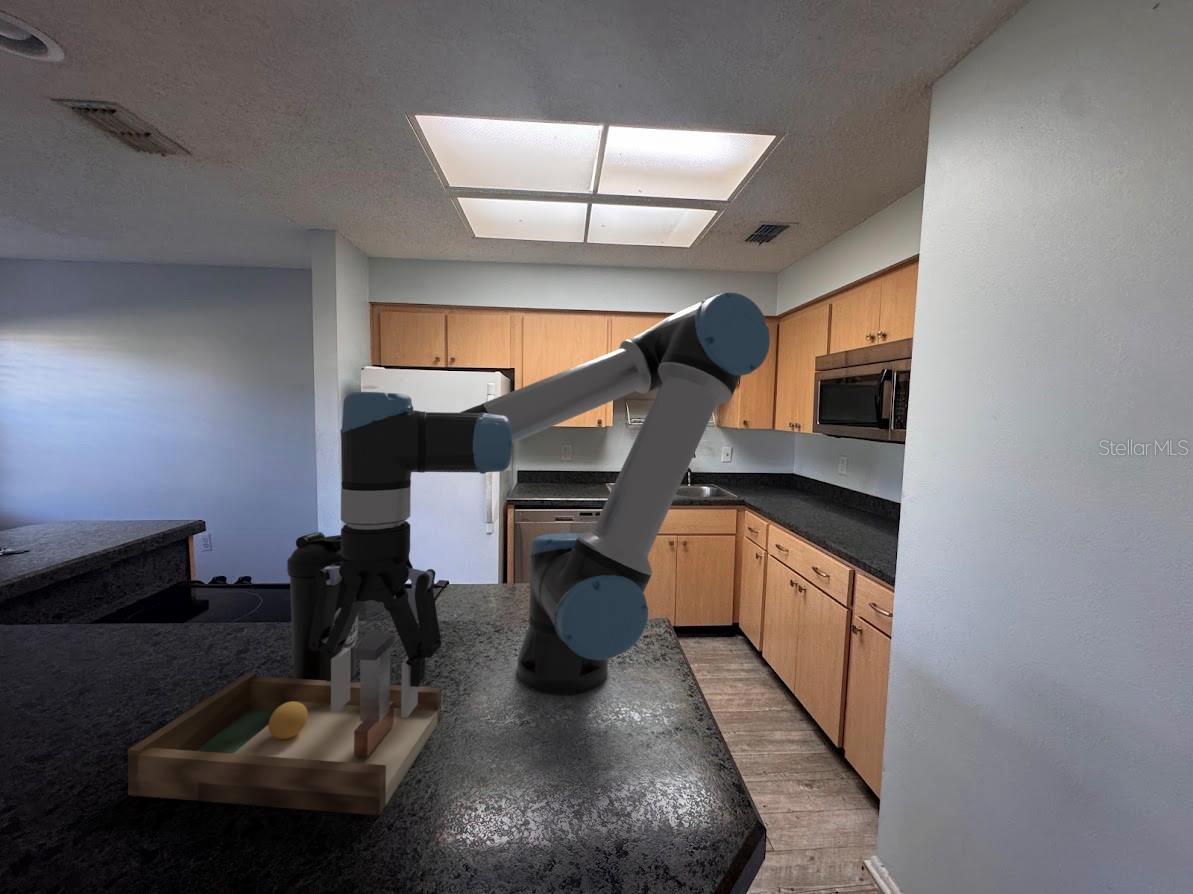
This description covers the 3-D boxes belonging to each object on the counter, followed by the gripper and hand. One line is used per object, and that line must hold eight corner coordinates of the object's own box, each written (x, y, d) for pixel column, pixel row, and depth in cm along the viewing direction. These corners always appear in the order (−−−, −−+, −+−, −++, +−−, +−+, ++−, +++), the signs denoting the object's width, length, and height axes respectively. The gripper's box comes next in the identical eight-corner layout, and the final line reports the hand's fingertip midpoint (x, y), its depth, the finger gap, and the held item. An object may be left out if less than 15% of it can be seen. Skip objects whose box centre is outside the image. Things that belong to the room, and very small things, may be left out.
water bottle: (328, 702, 68) (329, 545, 67) (270, 692, 70) (270, 540, 69) (375, 667, 78) (376, 531, 77) (322, 659, 80) (323, 526, 79)
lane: (440, 719, 64) (441, 684, 64) (379, 815, 48) (379, 768, 48) (248, 706, 66) (248, 672, 66) (128, 795, 50) (127, 749, 50)
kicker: (396, 724, 59) (397, 631, 59) (370, 757, 53) (371, 653, 53) (378, 723, 60) (379, 630, 59) (350, 756, 54) (351, 652, 53)
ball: (314, 726, 59) (314, 695, 59) (292, 748, 55) (292, 715, 55) (284, 724, 59) (284, 693, 59) (260, 745, 55) (260, 712, 55)
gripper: (472, 519, 59) (469, 695, 59) (314, 513, 60) (313, 685, 61) (449, 532, 51) (446, 734, 52) (269, 525, 52) (269, 721, 53)
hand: (375, 707), depth 56 cm, fingers open, 8 cm apart
